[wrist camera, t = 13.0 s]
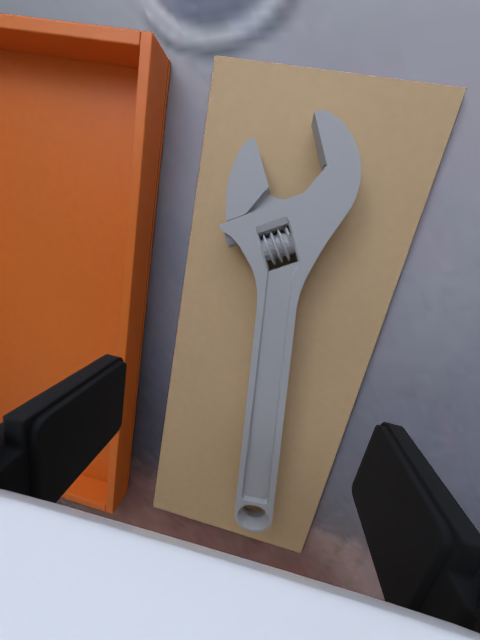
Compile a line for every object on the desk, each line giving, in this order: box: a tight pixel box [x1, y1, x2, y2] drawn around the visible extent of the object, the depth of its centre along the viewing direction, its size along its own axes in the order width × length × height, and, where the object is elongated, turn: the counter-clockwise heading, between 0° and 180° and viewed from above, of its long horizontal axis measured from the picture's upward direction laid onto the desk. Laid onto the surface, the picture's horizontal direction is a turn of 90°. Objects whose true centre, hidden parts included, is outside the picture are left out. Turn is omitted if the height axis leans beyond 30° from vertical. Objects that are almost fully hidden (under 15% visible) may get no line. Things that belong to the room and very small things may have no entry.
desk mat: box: [153, 56, 467, 553], centre depth 17 cm, size 12×30×1 cm, turn 169°
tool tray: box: [0, 14, 171, 514], centre depth 18 cm, size 14×29×2 cm, turn 169°
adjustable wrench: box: [219, 110, 361, 533], centre depth 16 cm, size 25×6×2 cm, turn 171°
